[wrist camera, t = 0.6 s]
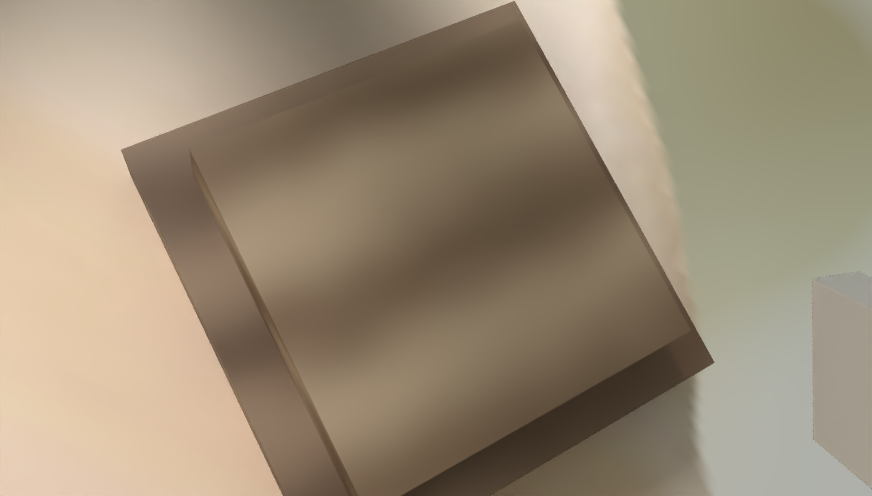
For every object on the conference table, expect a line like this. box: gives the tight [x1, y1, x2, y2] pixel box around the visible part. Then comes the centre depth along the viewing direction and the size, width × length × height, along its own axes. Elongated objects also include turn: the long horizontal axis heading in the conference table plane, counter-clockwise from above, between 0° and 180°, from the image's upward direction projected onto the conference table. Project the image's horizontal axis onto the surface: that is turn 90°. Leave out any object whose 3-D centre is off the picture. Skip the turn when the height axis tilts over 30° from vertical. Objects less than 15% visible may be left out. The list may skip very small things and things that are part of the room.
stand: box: [121, 1, 714, 496], centre depth 33 cm, size 18×18×6 cm
